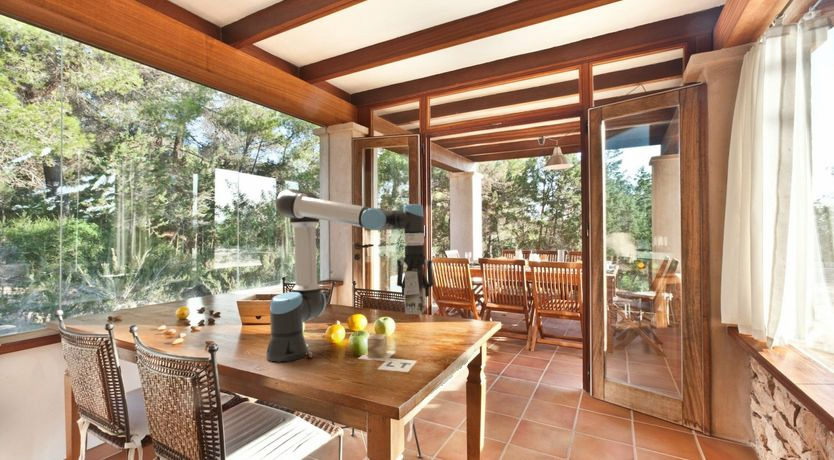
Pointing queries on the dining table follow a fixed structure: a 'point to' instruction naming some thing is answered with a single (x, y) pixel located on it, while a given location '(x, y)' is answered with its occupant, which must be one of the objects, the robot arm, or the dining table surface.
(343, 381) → the dining table surface
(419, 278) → the coffee box
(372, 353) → the oak block
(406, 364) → the tile
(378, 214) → the robot arm
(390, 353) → the code tile
